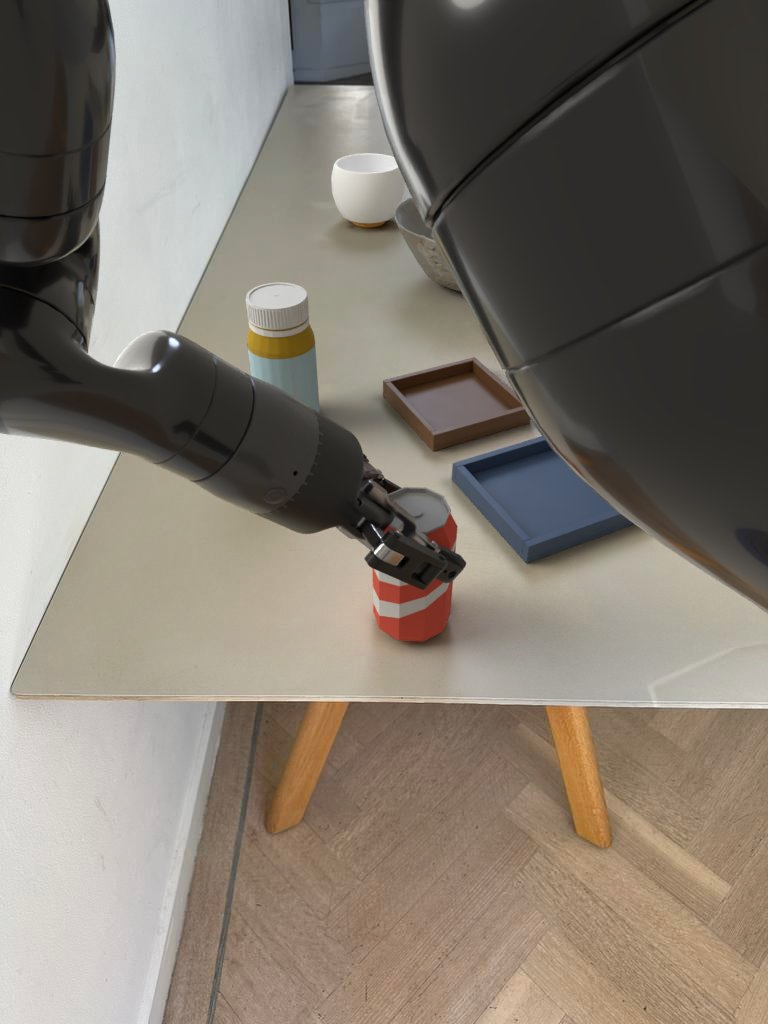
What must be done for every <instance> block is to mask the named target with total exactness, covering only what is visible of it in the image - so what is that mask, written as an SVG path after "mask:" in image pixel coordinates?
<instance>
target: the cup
mask: <svg viewBox="0 0 768 1024" xmlns="http://www.w3.org/2000/svg"><path fill="white" fill-rule="evenodd" d="M330 180H331V194H332V197H333V200H334V204H335V207H336V208H337V210H338V212H339V213H340V215H341V216H342V217H343V218H344V219H346V220H347V221H349V222H352V224H353V225H355V226H356V227H359V228H377V227H380V226H383V224H385V223H386V222H388V221H390V220H391V219H393V218H395V216H394V215H395V212H396V210H397V208H398V206H399V205H400V204H401V203H402V202H403V199H404V195H405V192H406V190H405V187H406V186H405V185H406V183H405V181H404V179H403V176H402V174H401V172H400V170H399V168H398V165H397V163H396V160H395V158H394V156H393V155H389V154H383V153H373V152H371V153H370V152H366V153H364V152H363V153H354V154H349V155H345V156H344V155H343V156H342V157H340V158H337V159H336V160H335V162H334V163H333V168H332V172H331V179H330Z"/></svg>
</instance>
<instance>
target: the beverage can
mask: <svg viewBox="0 0 768 1024" xmlns="http://www.w3.org/2000/svg"><path fill="white" fill-rule="evenodd" d="M388 497H389V498H391V499H392V500H393V501H395V502H396V503H397V504H398V505H400V506H401V507H402V508H403V509H405V510H406V511H407V512H408V513H410V514H411V515H412V516H414V517H415V519H416V523H417V529H419V530H420V531H421V532H422V533H424V534H425V535H426V536H427V537H429V538H430V539H431V540H434V541H435V542H437V543H438V544H440V545H442V546H443V547H445V548H447V549H449V550H451V551H453V552H455V553H456V548H457V538H458V524H457V523H456V520H455V519H454V516H453V514H452V509H451V506H450V505H449V503H448V501H447V499H446V497H445V496H444V495H443V494H440V493H439V492H437V491H434V490H433V489H430V488H428V487H421V486H420V487H419V486H418V487H417V486H415V487H414V486H403V487H401V489H399V490H397V491H394V492H392V493H390V494H388ZM401 524H402V521H401V520H399V519H398V518H397V517H395V516H394V520H393V522H392V523H391V524H390V525H389V526H388V528H387V529H386V530H385V531H384V533H386V532H387V531H388V530H389V529H391V530H393V531H396V530H397V529H398V528H399V527H400V526H401ZM409 539H411V540H413V541H415V542H417V541H416V540H414V539H413V538H409ZM417 543H418V542H417ZM371 569H372V612H373V615H374V618H375V620H376V623H377V626H378V629H379V630H380V631H382V632H384V633H385V634H387V635H389V636H390V637H392V638H393V639H395V640H397V641H399V642H426V641H427V640H429V639H431V638H433V637H435V636H437V635H438V634H440V633H442V632H444V630H445V628H446V625H447V623H448V620H449V618H450V615H451V611H452V598H453V585H454V580H453V581H452V583H444V582H442V581H440V580H438V579H434V581H433V582H432V583H431V584H430V585H429V586H428V587H427V588H426V589H425V590H421V589H419V588H416V587H414V586H412V585H410V584H407V583H405V582H403V581H400V580H398V579H396V578H393V577H391V576H389V575H387V574H384V573H382V572H380V571H377V570H375V569H373V568H371Z"/></svg>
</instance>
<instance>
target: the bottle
mask: <svg viewBox="0 0 768 1024" xmlns="http://www.w3.org/2000/svg"><path fill="white" fill-rule="evenodd" d="M245 306H246V314H247V319H248V326H249V328H248V333H247V336H246V342H247V345H246V346H247V352H248V362H249V368H250V375H251V376H253V377H255V378H258V379H260V380H263V381H265V382H267V383H270V384H272V385H274V386H276V387H278V388H280V389H281V390H283V391H285V392H286V393H288V394H290V395H291V396H293V397H295V398H296V399H298V400H299V401H301V402H303V403H304V404H306V405H308V406H309V407H311V408H313V409H314V410H316V411H318V412H319V413H321V409H320V407H321V406H320V395H319V393H320V392H319V380H318V379H319V378H318V377H319V376H318V365H317V364H318V363H317V349H316V339H315V338H316V337H315V333H314V330H313V328H312V326H311V324H310V309H309V295H308V293H307V290H306V288H304V287H302V286H300V285H298V284H295V283H292V282H283V281H282V282H281V281H280V282H278V281H277V282H268V283H264V284H260V285H256V286H254V287H253V288H251V289H250V290H248V292H247V293H246V295H245Z"/></svg>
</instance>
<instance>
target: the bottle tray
mask: <svg viewBox="0 0 768 1024" xmlns="http://www.w3.org/2000/svg"><path fill="white" fill-rule="evenodd" d="M382 396H383V397H384V398H385V400H386V401H387V402H388V403H389V404H390V405H391V406H392V407H393V408H394V410H395V411H396V412H397V413H398V414H399V415H400V416H401V417H402V418H403V420H404V421H405V423H407V424H408V425H409V426H410V427H411V429H412V430H413V431H415V433H416V434H417V435H418V436H419V437H420V438H421V440H422V441H423V442H424V443H425V444H426V445H427V446H428V448H429V449H430V450H431V451H432V452H435V451H439V450H442V449H445V448H446V449H447V448H449V447H452V446H456V445H460V444H463V443H466V442H470V441H473V440H476V439H477V440H478V439H480V438H483V437H487V436H490V435H493V434H497V433H500V432H503V431H507V430H511V429H514V428H518V427H521V426H524V425H528V424H530V423H531V418H530V417H529V415H528V414H527V412H526V410H525V409H524V407H523V405H522V404H521V402H520V401H519V399H518V397H517V395H516V394H515V392H514V390H513V388H512V387H511V386H509V385H507V383H505V382H504V381H503V380H502V379H500V378H499V377H498V375H496V374H495V373H494V372H492V371H491V370H490V369H489V368H488V367H487V366H486V365H484V363H482V361H480V360H479V359H477V357H475V356H473V357H470V358H466V359H462V360H456V361H454V362H450V363H445V364H442V365H437V366H434V367H430V368H426V369H421V370H418V371H413V372H410V373H407V374H403V375H398V376H394V377H390V378H387V379H383V380H382Z"/></svg>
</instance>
